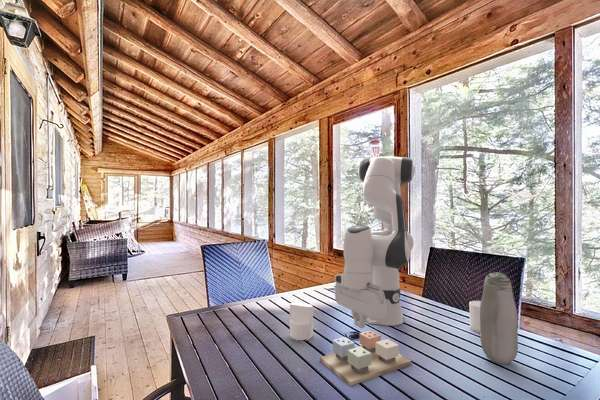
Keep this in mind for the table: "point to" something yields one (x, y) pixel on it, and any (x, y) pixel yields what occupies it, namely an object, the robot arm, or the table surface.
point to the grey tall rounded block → (498, 319)
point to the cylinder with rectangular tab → (301, 321)
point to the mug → (475, 315)
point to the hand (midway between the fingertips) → (359, 326)
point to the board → (366, 375)
